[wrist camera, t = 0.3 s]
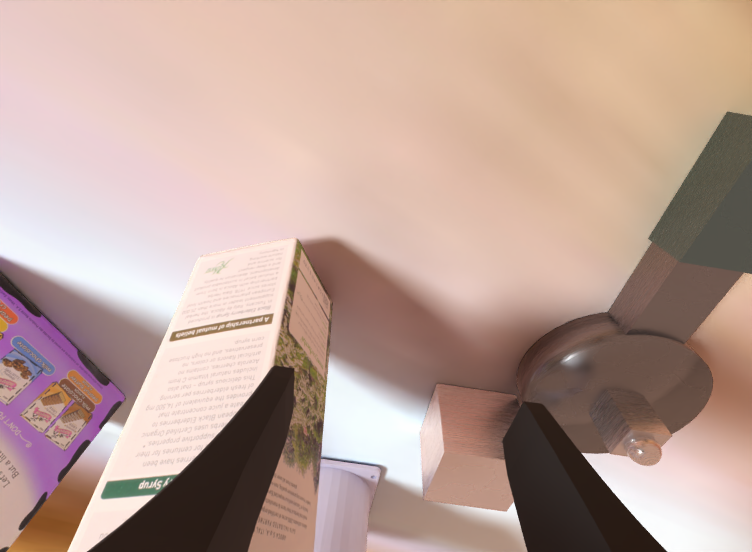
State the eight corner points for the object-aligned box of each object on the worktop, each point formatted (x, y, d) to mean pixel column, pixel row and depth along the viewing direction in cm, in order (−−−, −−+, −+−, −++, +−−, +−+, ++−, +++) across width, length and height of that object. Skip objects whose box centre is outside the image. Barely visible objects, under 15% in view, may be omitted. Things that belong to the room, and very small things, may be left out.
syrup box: (195, 253, 18) (-4, 671, 9) (302, 232, 17) (214, 677, 8) (249, 316, 23) (157, 647, 13) (338, 302, 22) (311, 649, 12)
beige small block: (490, 442, 28) (506, 511, 24) (419, 431, 28) (423, 499, 23) (515, 394, 25) (539, 465, 21) (436, 383, 25) (444, 451, 20)
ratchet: (629, 429, 26) (685, 522, 21) (496, 409, 26) (519, 498, 21) (883, 138, 15) (1131, 183, 10) (656, 99, 15) (791, 124, 10)
